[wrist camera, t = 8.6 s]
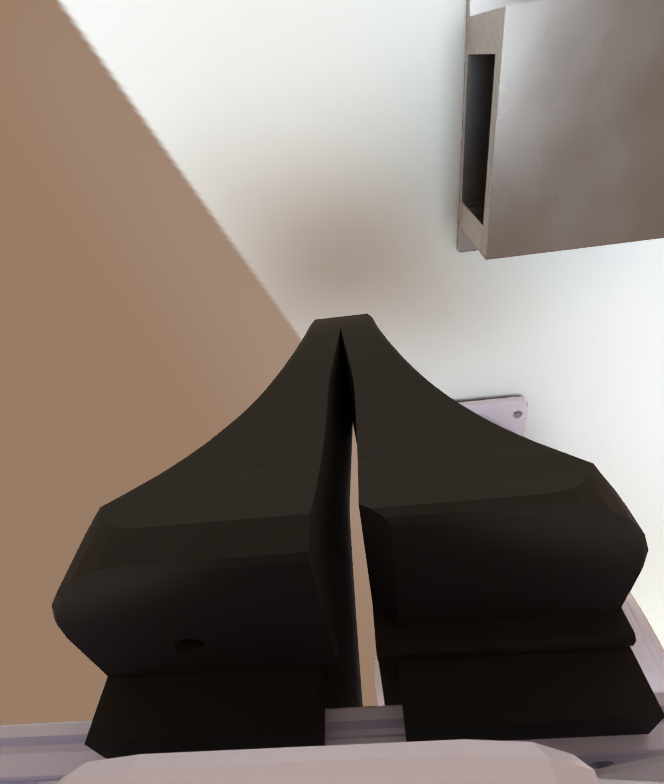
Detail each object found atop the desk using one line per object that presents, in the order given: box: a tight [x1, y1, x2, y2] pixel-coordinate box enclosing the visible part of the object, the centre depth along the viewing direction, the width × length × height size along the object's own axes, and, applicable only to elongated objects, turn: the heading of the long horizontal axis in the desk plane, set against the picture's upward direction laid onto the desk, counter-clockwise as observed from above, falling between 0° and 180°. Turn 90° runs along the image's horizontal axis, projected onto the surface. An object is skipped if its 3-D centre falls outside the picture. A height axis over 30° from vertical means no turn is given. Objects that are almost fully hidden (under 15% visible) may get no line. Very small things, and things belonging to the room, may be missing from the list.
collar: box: [457, 0, 664, 260], centre depth 15 cm, size 9×9×4 cm
